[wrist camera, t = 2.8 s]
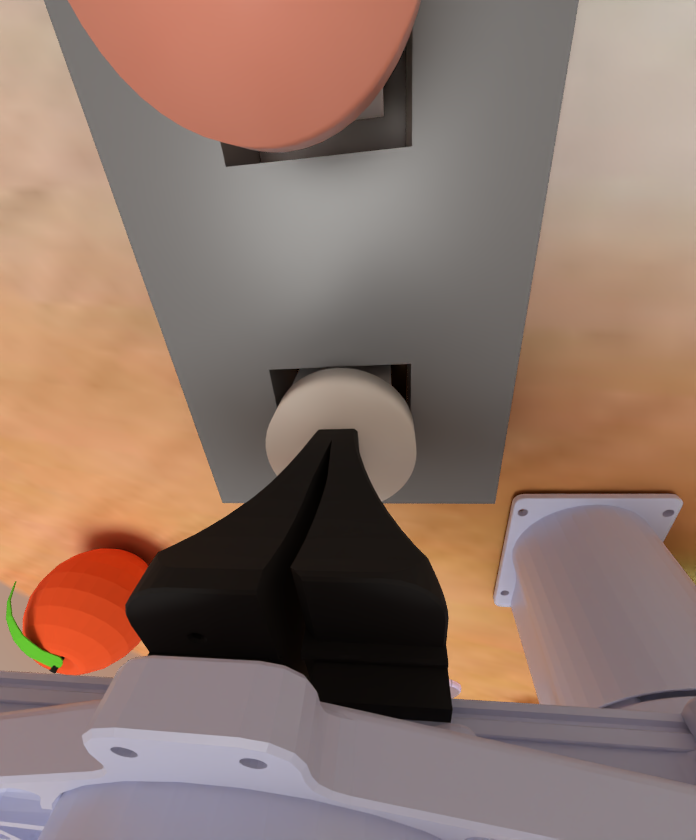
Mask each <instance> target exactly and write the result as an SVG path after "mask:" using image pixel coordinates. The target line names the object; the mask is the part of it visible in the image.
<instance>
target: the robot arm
mask: <svg viewBox="0 0 696 840" xmlns="http://www.w3.org/2000/svg"><path fill="white" fill-rule="evenodd" d="M682 506H683V501H682V500H681V499H680V497H679V496H677V495H676V494H520V495H517V496H516V497H515V498H514V499H513V501H512V505H511V510H510V515H509V520H508V525H507V531H506V536H505V541H504V546H503V551H502V556H501V561H500V566H499V571H498V576H497V581H496V586H495V591H494V596H493V599H494V603H495V604H496V605H497V606H501V607H511V608H512V612H513V615H514V618H515V622H516V625H517V629H518V632H519V636H520V639H521V642H522V646H523V649H524V653H525V656H526V659H527V663H528V666H529V670H530V673H531V676H532V680H533V683H534V687H535V690H536V693H537V697H538V700H539V703H540V704H529V703H513V702H496V701H480V700H464V699H451V692H450V684H449V676H448V656H447V648H446V639H447V629H448V609H447V605H446V601H445V598H444V595H443V592H442V589H441V587H440V584H439V582H438V579H437V577H436V575H435V572H434V570H433V568H432V566H431V564H430V562H429V560H428V558H427V557H426V556H425V555H424V554H423V553H422V552H421V551H420V550H419V549H418V548H417V547H416V546H415V545H414V544H413V543H412V542H411V540H410V539H409V538H408V537H407V536H406V535H405V533H404V532H403V531H402V530H401V529H400V527H399V526H398V525H397V523H396V522H395V520H394V519H393V518H392V516H391V515H390V514H389V512H388V511H387V509H386V508H385V506H384V505H383V503H382V501H381V500H380V498H379V496H378V495H377V493H376V491H375V489H374V487H373V485H372V483H371V481H370V479H369V477H368V474H367V472H366V470H365V467H364V464H363V461H362V458H361V455H360V452H359V440H358V431H356V430H355V429H319V430H318V431H317V432H316V433H315V434H314V435H313V436H312V438H311V439H310V440H309V441H308V443H307V444H306V445H305V446H304V447H303V449H302V450H301V451H300V452H299V453H298V454H297V456H296V457H295V458H294V459H293V460H292V461H291V462H290V463H289V465H288V466H287V467H286V468H285V469H284V470H283V471H282V472H281V473H280V474H279V475H278V476H277V477H276V478H275V479H274V480H273V481H272V482H271V483H269V484H268V485H267V486H266V487H265V488H264V489H263V490H261V491H260V492H259V493H258V494H257V495H255V496H254V497H253V498H251V499H250V500H249V501H247V502H246V503H245V504H243V505H242V506H240V507H239V508H237V509H236V510H235V511H233V512H232V513H230V514H229V515H227V516H226V517H224V518H223V519H221V520H219V521H218V522H216V523H214V524H213V525H211V526H209V527H208V528H206V529H204V530H202V531H201V532H199V533H197V534H195V535H193V536H191V537H189V538H187V539H185V540H183V541H181V542H179V543H177V544H175V545H173V546H171V547H169V548H167V549H164V550H162V551H160V552H158V553H157V555H156V556H155V557H154V559H153V560H152V562H151V563H150V565H149V566H148V568H147V569H146V571H145V573H144V574H143V576H142V578H141V579H140V581H139V582H138V584H137V586H136V587H135V589H134V591H133V592H132V594H131V596H130V597H129V599H128V601H127V603H126V604H125V612H126V616H127V618H128V620H129V622H130V624H131V626H132V627H133V629H134V630H135V632H136V633H137V635H138V636H139V637H140V639H141V640H142V642H143V643H144V645H145V646H146V647H147V649H148V650H149V654H148V656H143V657H135V658H132V659H130V660H128V661H127V662H126V663H125V664H123V666H121V667H120V668H119V669H118V671H117V673H116V675H115V676H114V678H110V677H95V676H79V675H63V674H46V673H30V672H14V671H0V840H696V585H695V584H694V582H693V581H692V580H691V578H690V577H689V576H688V575H687V573H686V572H685V571H684V569H683V568H682V567H681V566H680V564H679V563H678V562H677V560H676V559H675V558H674V556H673V555H672V554H671V553H670V551H669V550H668V549H667V547H666V546H665V545H664V543H663V541H664V540H665V538H666V536H667V534H668V532H669V530H670V528H671V526H672V524H673V523H674V521H675V519H676V517H677V515H678V513H679V511H680V509H681V507H682ZM521 509H524V510H521ZM519 510H521V511H519Z"/></svg>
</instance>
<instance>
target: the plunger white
mask: <svg viewBox="0 0 696 840" xmlns="http://www.w3.org/2000/svg"><path fill="white" fill-rule="evenodd" d="M319 429H355V430H356V431H358V440H359V452H360V455H361V458H362V461H363V464H364V467H365V470H366V472H367V474H368V477H369V479H370V481H371V483H372V485H373V487H374V489H375V491H376V493H377V495H378V496H379V498H380V500H381V501H384V500H386V499H388V498H389V497H391V496H392V495H394V494H395V493H396V492H397V491H399V490H400V489H401V488H402V487H403V486H404V484H405V483H406V482H407V481H408V479H409V477H410V476H411V474H412V472H413V469H414V466H415V462H416V454H417V452H416V440H415V431H414V422H413V418H412V414H411V411H410V409H409V407H408V405H407V403H406V401H405V400H404V398H403V397H402V396H401V395H400V393H399V392H398V391H397V390H396V389H395V388H394V387H393V386H391V365H369V366H345V367H321V368H300V369H299V371H298V374H297V376H296V378H295V380H294V382H293V384H292V386H291V387H290V388H289V389H288V391H287V392H286V393H285V395H284V396H283V398H282V400H281V401H280V403H279V405H278V407H277V409H276V411H275V413H274V416H273V418H272V420H271V422H270V424H269V426H268V430H267V434H266V452H267V457H268V460H269V463H270V465H271V467H272V469H273V471H274V472H275V474H276V475H277V476H278V475H279V474H280V473H281V472H282V471H283V470H284V469H285V468H286V467H287V466H288V465H289V463H290V462H291V461H292V460H293V459H294V458H295V457H296V456H297V454H298V453H299V452H300V451H301V450H302V449H303V447H304V446H305V445H306V444H307V443H308V441H309V440H310V439H311V438H312V436H313V435H314V434H315V433H316V432H317V431H318V430H319Z"/></svg>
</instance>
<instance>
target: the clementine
mask: <svg viewBox="0 0 696 840" xmlns="http://www.w3.org/2000/svg"><path fill="white" fill-rule="evenodd" d="M147 568H148V565H147V564H146V563H145V561H143V560H142V559H141V558H140V557H138V556H137V555H135V554H133V553H131V552H128V551H125V550H121V549H106V548H103V549H95V550H91V551H87V552H84V553H81V554H78V555H76V556H73V557H71V558H70V559H68V560H66V561H64V562H63V563H61V564H59V565H58V566H57V567H56V568H55V569H54V570H52V571H51V572H50V573H49V574H48V575H47V576H46V577H45V578H44V579H43V580H42V581H41V582H40V583H39V585H38V586H37V588H36V589H35V590H34V592H33V593H32V595H31V596H30V598H29V601H28V604H27V607H26V610H25V613H24V617H23V633H22V632H21V630H20V629H19V627H18V626H17V624H16V622H15V620H14V618H13V616H12V608H11V597H12V594H13V591H14V587H15V584H16V581H15V583H14V586H13V588H12V591H11V593H10V596H9V598H8V601H7V612H6V613H7V614H6V620H7V624H8V627H9V630H10V632H11V635H12V637H13V640H14V641H15V643H16V644H17V645H18V646H19V648H20V649H21V650H22V651H23V652H24V653H25V654H26V655H28V656H29V657H31V658H33V660H34V661H36V662H37V663H38V664H39V665H41V666H43V667H44V668H47V669H49V670H50V671H51V672H53V673H56V672H57V673H61V674H65V675H81V674H85V673H90V672H93V671H97V670H100V669H104V668H106V667H107V666H109V665H110V664H112V663H114V662H116V661H118V660H119V659H121V658H123V657H124V656H126V655H127V654H128V653H129V652H130V651H131V650H132V649H133V648H134V647H136V646H137V645H138V644H139V642H140V641H141V639H140V637H139V636H138V635H137V633H136V632H135V630H134V629H133V627H132V626H131V624H130V622H129V620H128V618H127V616H126V612H125V604H126V603H127V601H128V599H129V597H130V596H131V594H132V592H133V591H134V589H135V587H136V586H137V584H138V582H139V581H140V579H141V578H142V576H143V574H144V573H145V571H146V569H147Z"/></svg>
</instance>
